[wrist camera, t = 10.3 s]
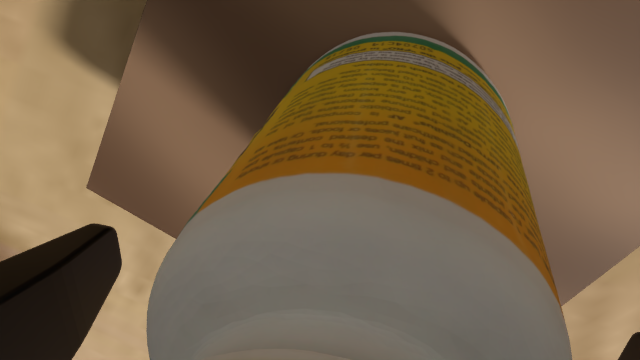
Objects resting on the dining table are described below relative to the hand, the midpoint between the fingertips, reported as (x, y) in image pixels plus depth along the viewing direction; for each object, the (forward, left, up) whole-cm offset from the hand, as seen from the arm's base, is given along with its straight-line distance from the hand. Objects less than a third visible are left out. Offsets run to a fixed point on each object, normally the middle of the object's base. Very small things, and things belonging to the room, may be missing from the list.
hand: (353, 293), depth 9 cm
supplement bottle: (-1, 0, -5) cm, 5 cm away
